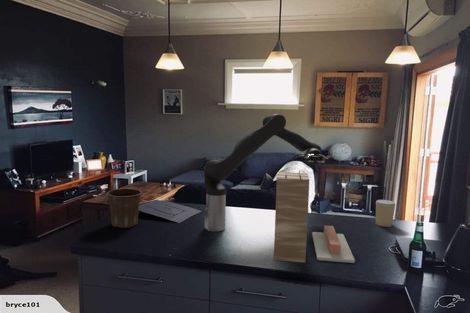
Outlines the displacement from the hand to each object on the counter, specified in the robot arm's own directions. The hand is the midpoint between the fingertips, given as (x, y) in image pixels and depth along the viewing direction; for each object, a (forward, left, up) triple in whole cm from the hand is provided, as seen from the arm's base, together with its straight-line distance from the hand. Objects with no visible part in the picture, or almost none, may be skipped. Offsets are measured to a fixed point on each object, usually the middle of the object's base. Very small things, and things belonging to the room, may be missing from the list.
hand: (317, 160), depth 174 cm
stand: (-27, -23, -34) cm, 49 cm away
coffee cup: (+40, -4, -34) cm, 53 cm away
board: (-6, -22, -34) cm, 41 cm away
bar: (-5, -21, -33) cm, 39 cm away
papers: (-62, +48, -34) cm, 85 cm away
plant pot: (-85, +36, -34) cm, 98 cm away
